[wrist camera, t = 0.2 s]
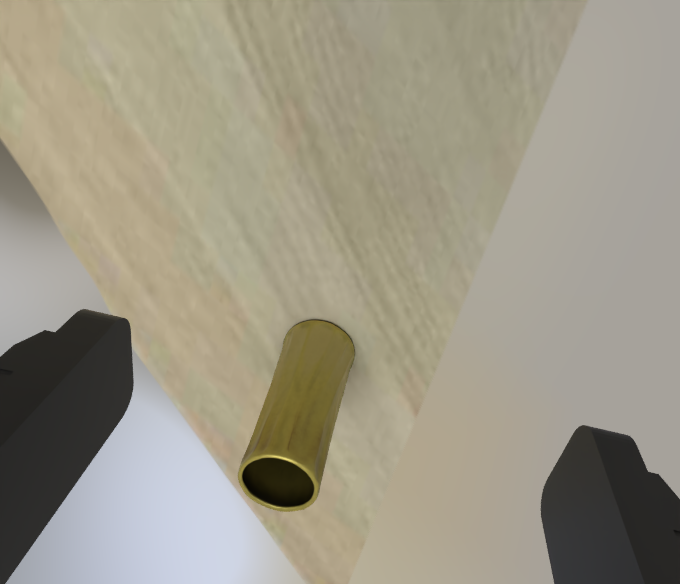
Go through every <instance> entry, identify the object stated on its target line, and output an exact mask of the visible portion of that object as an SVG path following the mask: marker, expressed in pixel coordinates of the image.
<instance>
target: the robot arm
mask: <svg viewBox="0 0 680 584" xmlns="http://www.w3.org/2000/svg"><path fill="white" fill-rule="evenodd" d="M132 392H133V364H132V346H131V329H130V324H129V322H128V320H127V319H125V318H122V317H117V316H113V315H108V314H104V313H99V312H95V311H91V310H86V309H83V310H80V311H78V312H77V313H76V314H75V315H73V316H72V317H71V318H70V319H69V320H68V321H67V322H66V323H65V324H64V325H63V326H62V327H61V328H60V329H58V330H57V331H56V332H50V331H46V330H44V331H43V332H40V333H38V334H36V335H34V336H32V337H30V338H28V339H26V340H24V341H21V342H19V343H17V344H15V345H13V346H12V347H11V348H10V349H9V350H8V351H7V352H5V353H4V354H3V355H2V356H1V357H0V584H5V583H6V582H7V580H8V579H9V577H10V576H11V574H12V573H13V572H14V570H15V569H16V567H17V566H18V565H19V563H20V562H21V560H22V559H23V558H24V556H25V555H26V553H27V552H28V551H29V549H30V548H31V546H32V545H33V543H34V542H35V541H36V539H37V538H38V536H39V535H40V534H41V532H42V531H43V529H44V528H45V526H46V525H47V523H48V522H49V521H50V519H51V518H52V517H53V515H54V514H55V512H56V511H57V509H58V508H59V507H60V505H61V504H62V502H63V501H64V500H65V498H66V497H67V495H68V494H69V492H70V491H71V490H72V488H73V487H74V485H75V484H76V483H77V481H78V479H79V478H80V477H81V475H82V474H83V472H84V471H85V470H86V468H87V467H88V465H89V464H90V463H91V461H92V460H93V458H94V457H95V456H96V454H97V453H98V451H99V450H100V449H101V447H102V446H103V444H104V443H105V441H106V440H107V439H108V437H109V436H110V434H111V433H112V432H113V430H114V428H115V427H116V426H117V424H118V423H119V422H120V420H121V419H122V417H123V416H124V414H125V412H126V410H127V408H128V405H129V403H130V400H131V396H132ZM541 518H542V523H543V528H544V533H545V538H546V543H547V548H548V554H549V559H550V563H551V568H552V574H553V578H554V584H680V499H679V498H678V497H677V495H676V494H675V493H674V492H673V491H672V490H671V488H670V487H669V486H668V485H667V484H666V483H665V482H664V480H663V479H662V478H661V477H660V476H659V474H655V473H651V472H648V471H647V469H646V466H645V464H644V461H643V459H642V457H641V455H640V452H639V450H638V448H637V445H636V443H635V442H634V440H633V439H632V438H631V437H630V436H628V435H624V434H619V433H615V432H611V431H607V430H603V429H598V428H593V427H589V426H585V425H582V426H580V427H578V428H577V429H576V430H575V432H574V433H573V435H572V437H571V439H570V440H569V443H568V444H567V446H566V447H565V449H564V451H563V453H562V455H561V456H560V458H559V460H558V462H557V463H556V465H555V467H554V469H553V471H552V472H551V474H550V476H549V477H548V479H547V481H546V484H545V486H544V489H543V493H542V499H541Z"/></svg>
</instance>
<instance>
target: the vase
mask: <svg viewBox="0 0 680 584" xmlns="http://www.w3.org/2000/svg"><path fill="white" fill-rule="evenodd" d="M354 355H355V352H354V347H353V344H352V341H351V340H350V338H349V337H348V335H347V334H346V333H345V332H344V331H342V330H341V329H340V328H338V327H336V326H335V325H333V324H331V323H328V322H325V321H319V320H310V321H305V322H302V323H300V324H297V325H296V326H294V327H293V328H291V329H290V331H289V332H288V333H287V335H286V337H285V339H284V343H283V348H282V352H281V355H280V358H279V361H278V364H277V367H276V370H275V373H274V376H273V380H272V383H271V386H270V389H269V391H268V394H267V397H266V399H265V402H264V405H263V408H262V410H261V413H260V416H259V419H258V421H257V424H256V427H255V430H254V433H253V435H252V438H251V440H250V443H249V445H248V448H247V450H246V452H245V455H244V457H243V459H242V462H241V465H240V468H239V472H238V480H239V483H240V486H241V487H242V489H243V491H244V492H245V494H246V495H247V496H248V497H250V498H251V499H252V500H253V501H255V502H257V503H258V504H260V505H262V506H265V507H267V508H270V509H273V510H277V511H284V512H290V511H298V510H303V509H305V508H307V507H309V506H310V505H311V504H313V503H314V501H315V500H316V498H317V497H318V494H319V490H320V485H321V480H322V476H323V472H324V467H325V463H326V459H327V455H328V450H329V446H330V442H331V438H332V434H333V430H334V426H335V422H336V419H337V415H338V411H339V408H340V404H341V400H342V397H343V393H344V390H345V386H346V382H347V378H348V374H349V371H350V368H351V366H352V363H353V360H354Z"/></svg>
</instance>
